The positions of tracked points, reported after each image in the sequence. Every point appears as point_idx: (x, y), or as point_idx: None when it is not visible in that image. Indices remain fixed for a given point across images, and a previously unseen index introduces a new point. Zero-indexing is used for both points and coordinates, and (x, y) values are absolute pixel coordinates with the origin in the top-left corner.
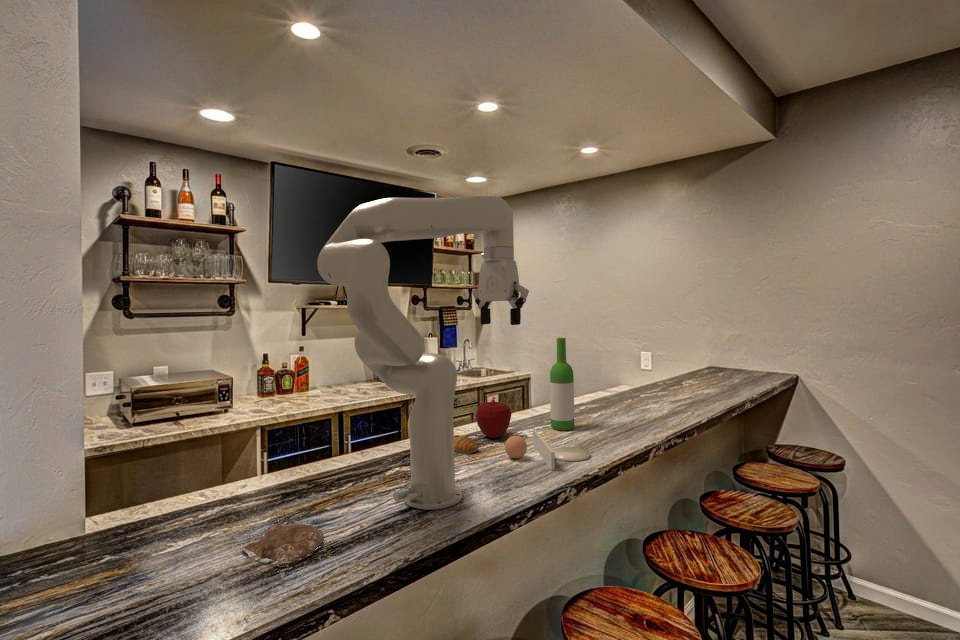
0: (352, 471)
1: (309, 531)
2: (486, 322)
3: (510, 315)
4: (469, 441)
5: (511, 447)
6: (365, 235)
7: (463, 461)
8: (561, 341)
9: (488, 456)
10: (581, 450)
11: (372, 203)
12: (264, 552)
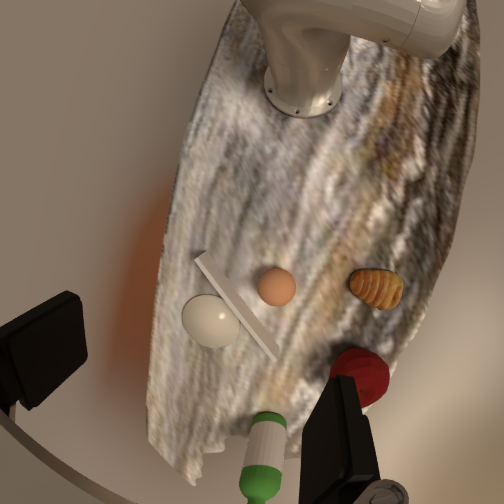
0: (458, 133)
1: None
2: (317, 408)
3: (40, 321)
4: (367, 289)
5: (276, 270)
6: None
7: (349, 232)
8: None
9: (323, 271)
10: (200, 337)
11: None
12: None
